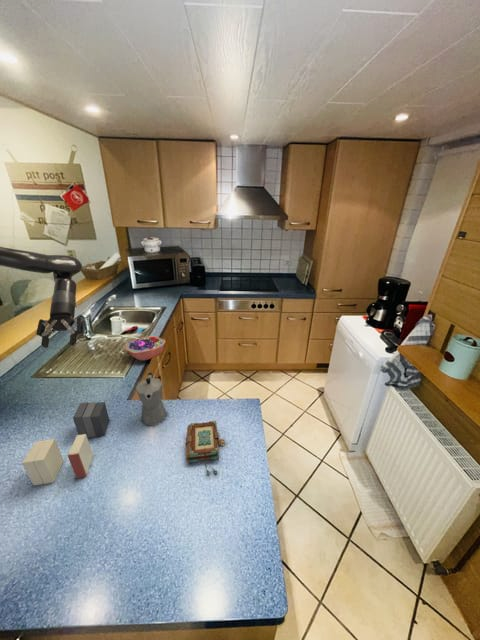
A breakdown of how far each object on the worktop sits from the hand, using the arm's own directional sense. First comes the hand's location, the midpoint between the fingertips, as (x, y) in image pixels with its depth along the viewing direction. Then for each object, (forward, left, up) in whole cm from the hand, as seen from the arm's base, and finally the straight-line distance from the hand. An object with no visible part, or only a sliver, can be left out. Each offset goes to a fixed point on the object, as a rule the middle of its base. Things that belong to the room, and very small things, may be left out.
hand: (58, 346), depth 90 cm
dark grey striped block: (+8, -15, -29) cm, 33 cm away
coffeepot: (+28, -15, -29) cm, 43 cm away
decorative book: (+43, -38, -29) cm, 64 cm away
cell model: (+28, +29, -29) cm, 50 cm away
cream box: (-4, -28, -29) cm, 40 cm away
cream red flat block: (+6, -30, -29) cm, 42 cm away
